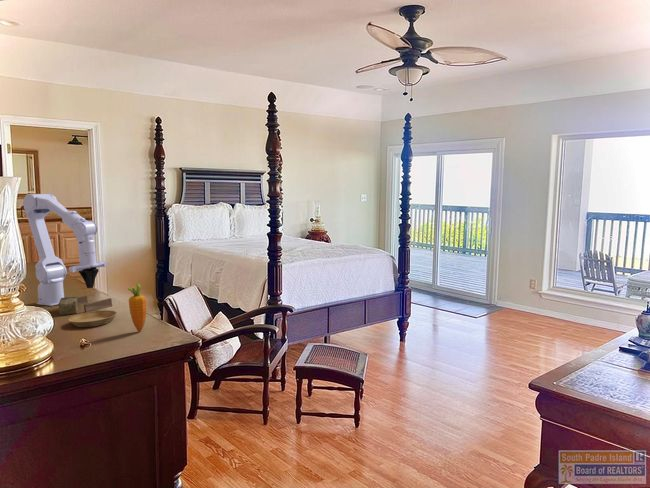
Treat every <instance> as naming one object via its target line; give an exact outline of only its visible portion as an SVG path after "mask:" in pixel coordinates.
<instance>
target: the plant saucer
mask: <svg viewBox="0 0 650 488" xmlns="http://www.w3.org/2000/svg"><path fill="white" fill-rule="evenodd" d="M117 314H118V312H117V311H115V310H109V309H108V310H106V309H105V310H103V309H101V310H96V311H92V312H86V313H85V312H82V313H78V314H77V313H76V314H74V315H71V316H70V317H69V318H68V319H67V320H68V322H70V323H71V324H72V325H74V326H75V327H78V328H93V327H97V326H98V327H99V326H103V325H106V324H109V323H110V322H112V321H113V320H114V318H115V317H116V316H117Z"/></svg>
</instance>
